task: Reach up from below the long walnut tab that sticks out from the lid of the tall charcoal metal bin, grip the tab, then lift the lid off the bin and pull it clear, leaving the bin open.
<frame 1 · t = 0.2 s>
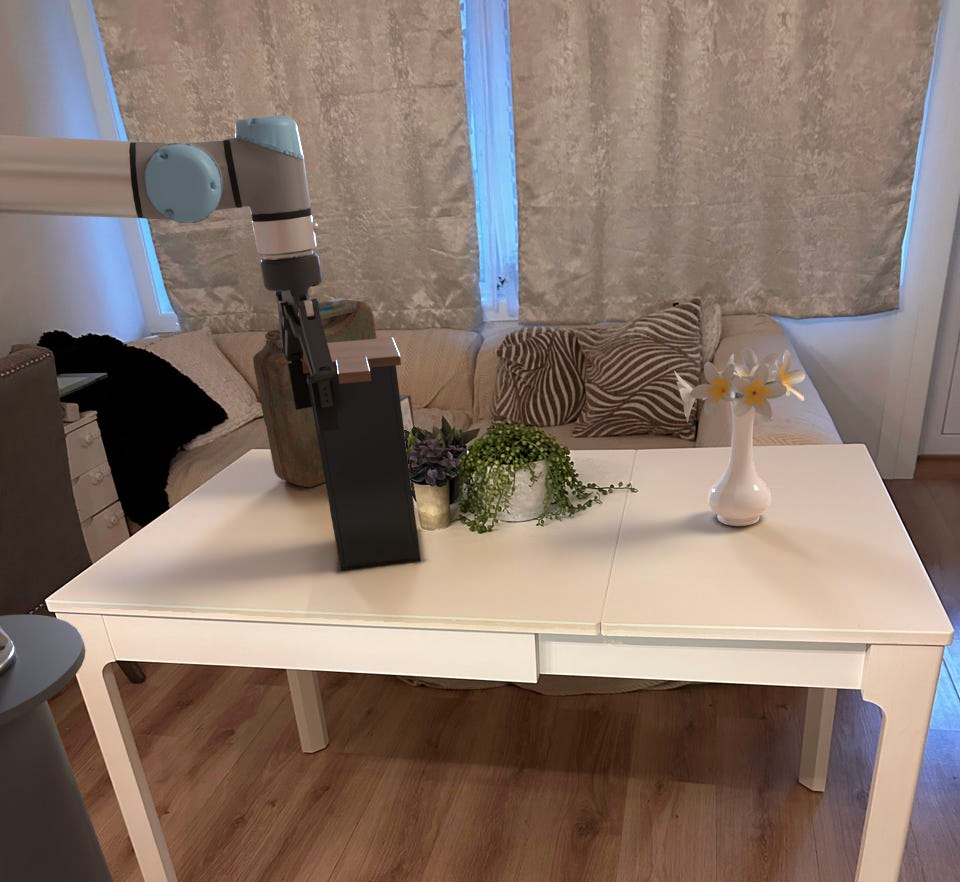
hand: (316, 418, 131), 23 cm above the table, tool pointing down, fingers open, 13 cm apart
flower vase: (734, 521, 144), on the table
coffee box: (393, 488, 171), on the table
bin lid: (350, 358, 132), point 29 cm above the table, touching gripper
container: (336, 471, 182), on the table
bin: (380, 550, 146), on the table
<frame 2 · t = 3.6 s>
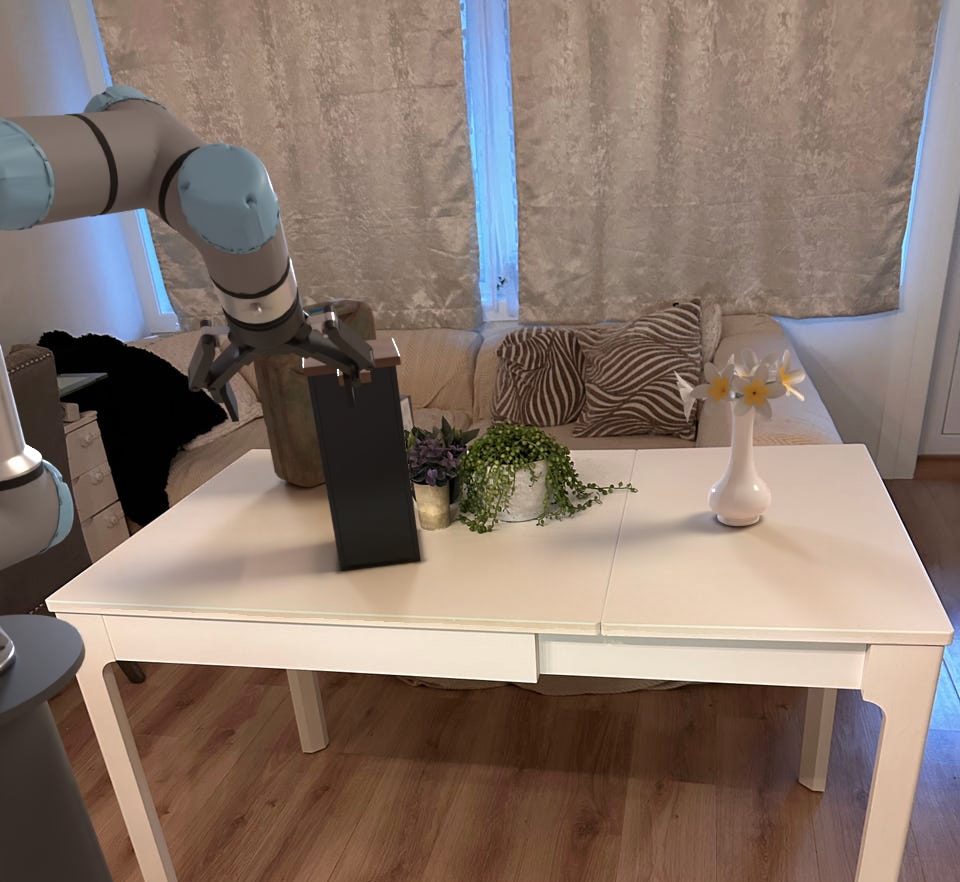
hand: (293, 404, 111), 30 cm above the table, tool tilted 45°, fingers open, 13 cm apart
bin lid: (351, 360, 132), point 29 cm above the table, touching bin
everything else where it was.
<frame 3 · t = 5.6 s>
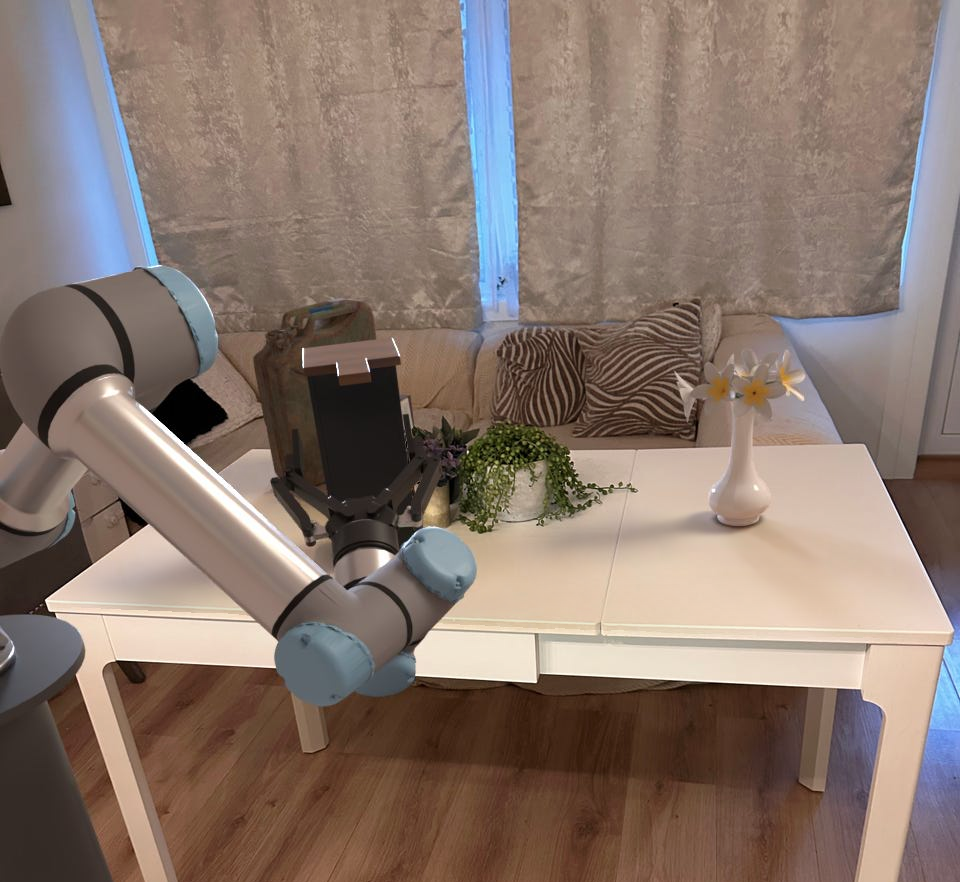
hand: (351, 429, 117), 25 cm above the table, tool pointing upward, fingers open, 13 cm apart
nothing on the table moved.
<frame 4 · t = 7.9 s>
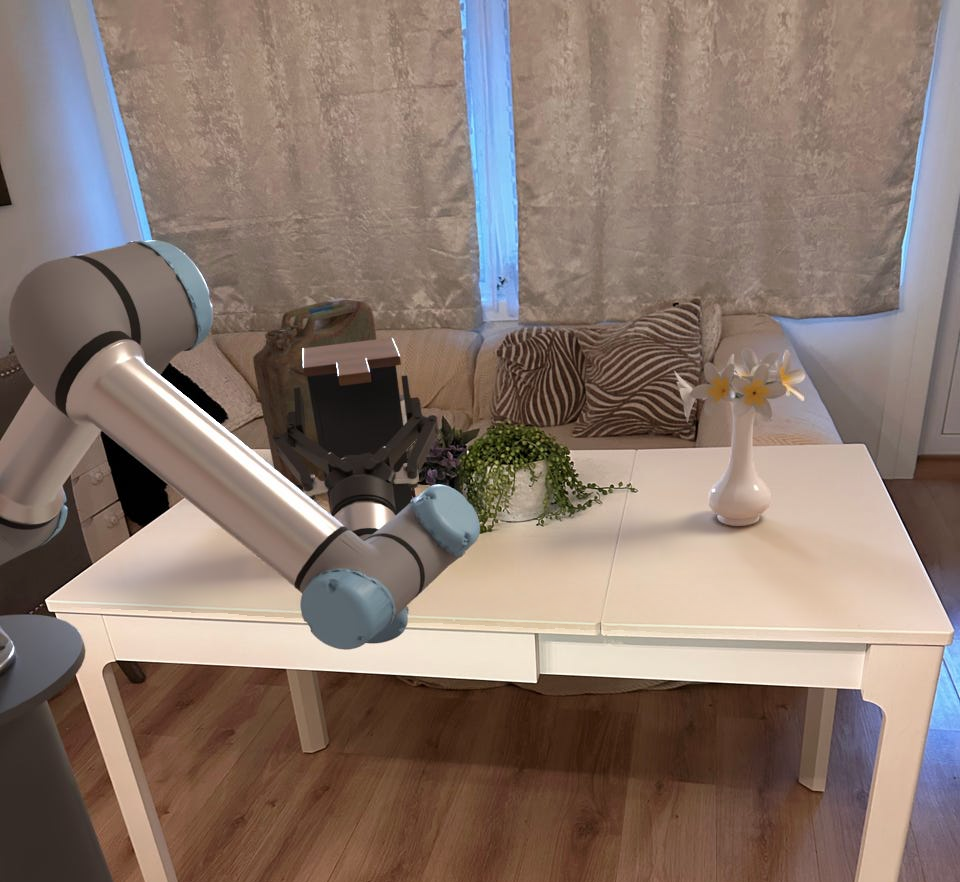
hand: (352, 389, 121), 28 cm above the table, tool pointing upward, fingers open, 13 cm apart
nothing on the table moved.
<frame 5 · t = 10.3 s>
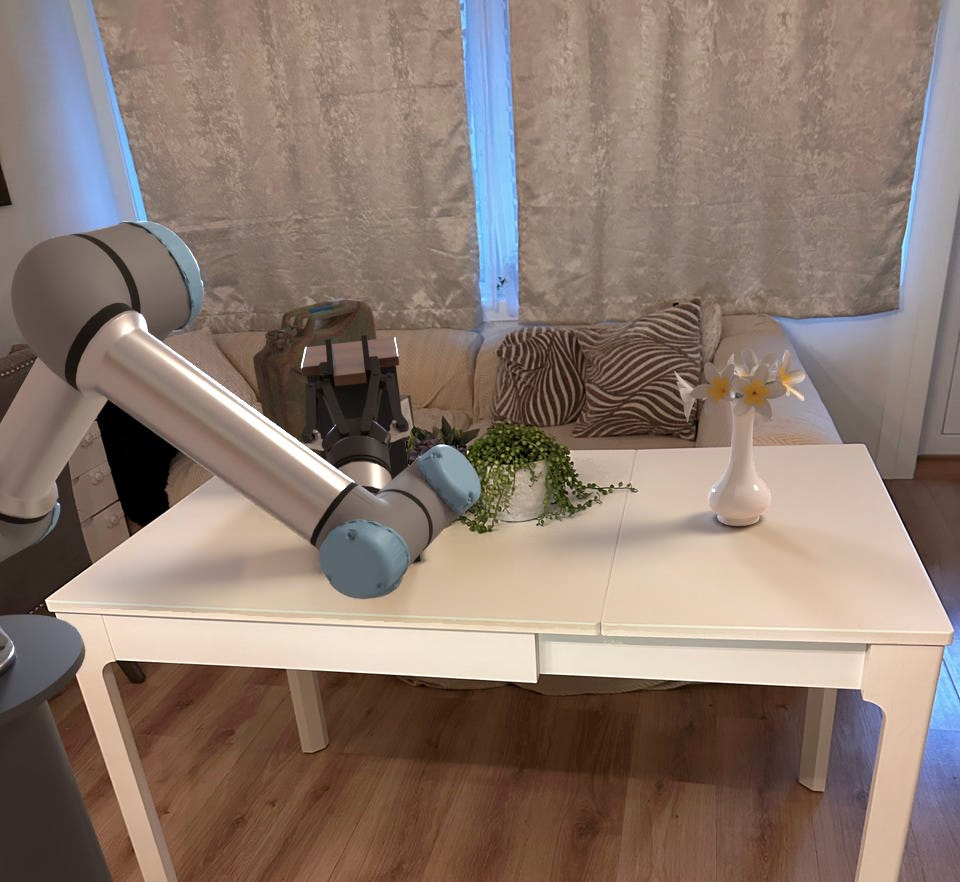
hand: (347, 345, 125), 32 cm above the table, tool pointing upward, fingers closed on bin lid, 4 cm apart
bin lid: (351, 360, 132), point 29 cm above the table, touching gripper
everything else where it was.
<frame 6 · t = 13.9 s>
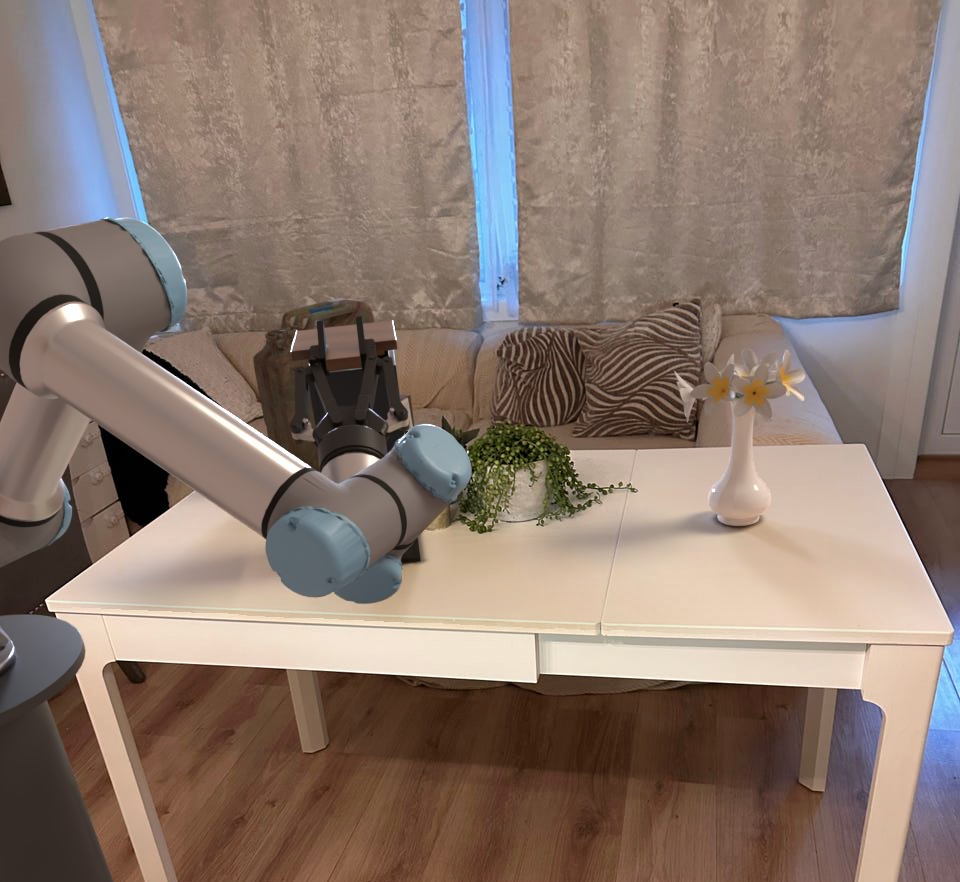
hand: (340, 327, 115), 36 cm above the table, tool pointing upward, fingers closed on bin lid, 4 cm apart
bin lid: (345, 344, 122), point 33 cm above the table, touching gripper
everything else where it was.
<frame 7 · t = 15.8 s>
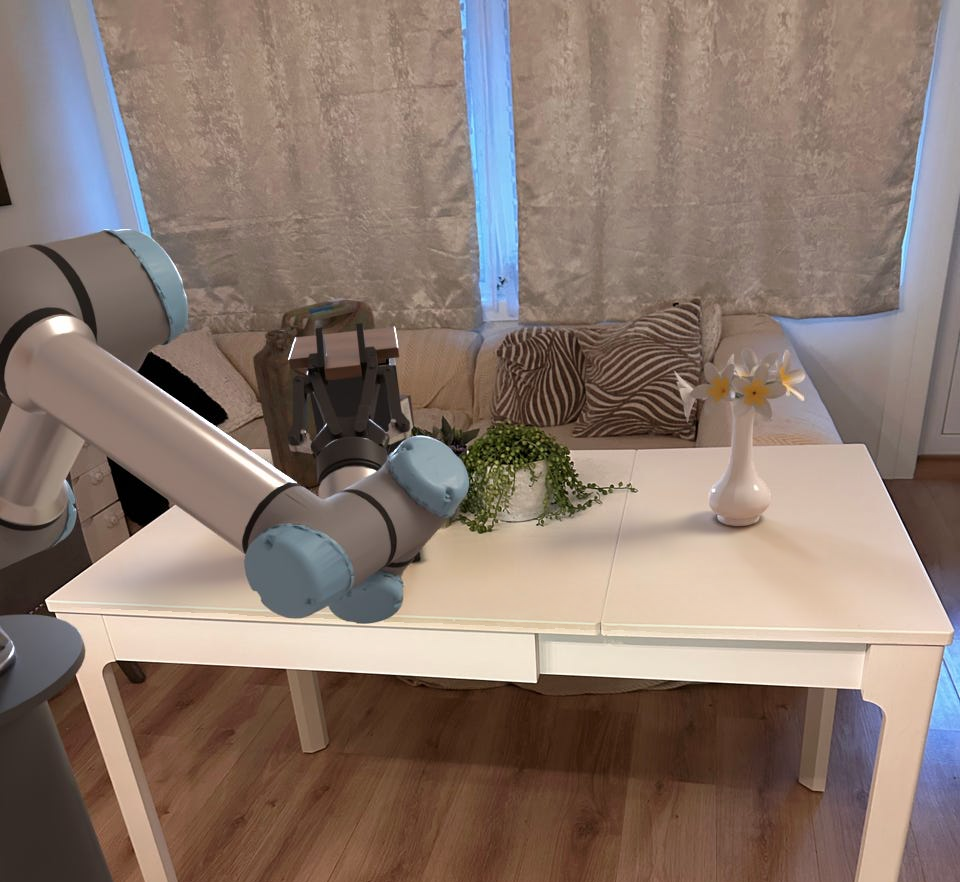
hand: (340, 335, 111), 36 cm above the table, tool pointing upward, fingers closed on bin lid, 4 cm apart
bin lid: (345, 351, 118), point 33 cm above the table, touching gripper
everything else where it was.
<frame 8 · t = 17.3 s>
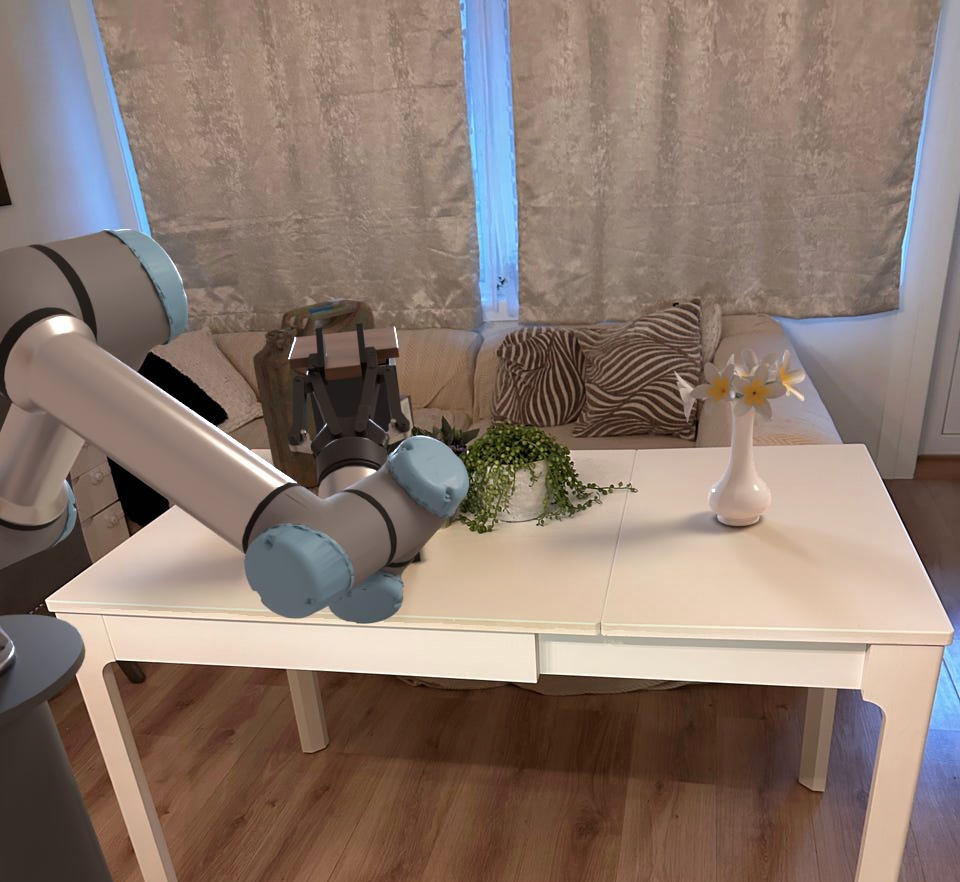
hand: (340, 335, 111), 36 cm above the table, tool pointing upward, fingers closed on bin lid, 4 cm apart
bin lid: (345, 351, 118), point 33 cm above the table, touching gripper
everything else where it was.
at the end: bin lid touching gripper; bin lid moved 14.6 cm from its start; the gripper is holding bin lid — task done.
